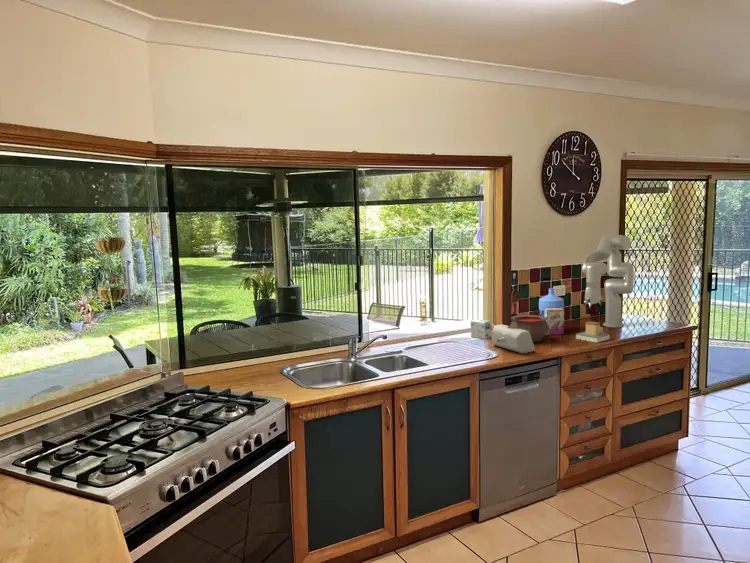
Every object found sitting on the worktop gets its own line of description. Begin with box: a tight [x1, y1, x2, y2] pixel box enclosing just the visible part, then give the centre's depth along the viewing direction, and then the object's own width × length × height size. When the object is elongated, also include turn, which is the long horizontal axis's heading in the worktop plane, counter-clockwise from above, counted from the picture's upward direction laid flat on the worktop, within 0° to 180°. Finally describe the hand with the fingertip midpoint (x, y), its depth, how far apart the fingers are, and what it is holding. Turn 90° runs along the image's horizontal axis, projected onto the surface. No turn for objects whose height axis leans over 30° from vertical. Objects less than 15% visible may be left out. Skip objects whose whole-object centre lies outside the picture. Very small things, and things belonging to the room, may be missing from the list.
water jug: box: [538, 287, 565, 317], centre depth 346 cm, size 16×16×28 cm
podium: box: [575, 330, 611, 343], centre depth 321 cm, size 13×14×3 cm
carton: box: [585, 321, 601, 335], centre depth 320 cm, size 5×7×7 cm
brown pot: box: [508, 311, 549, 343], centre depth 325 cm, size 24×24×16 cm
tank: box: [491, 324, 536, 355], centre depth 304 cm, size 25×16×12 cm, turn 26°
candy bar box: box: [545, 308, 565, 336], centre depth 336 cm, size 11×5×16 cm, turn 88°
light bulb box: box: [470, 319, 491, 340], centre depth 336 cm, size 11×7×11 cm, turn 47°
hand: (593, 312), depth 320 cm, fingers open, 9 cm apart
